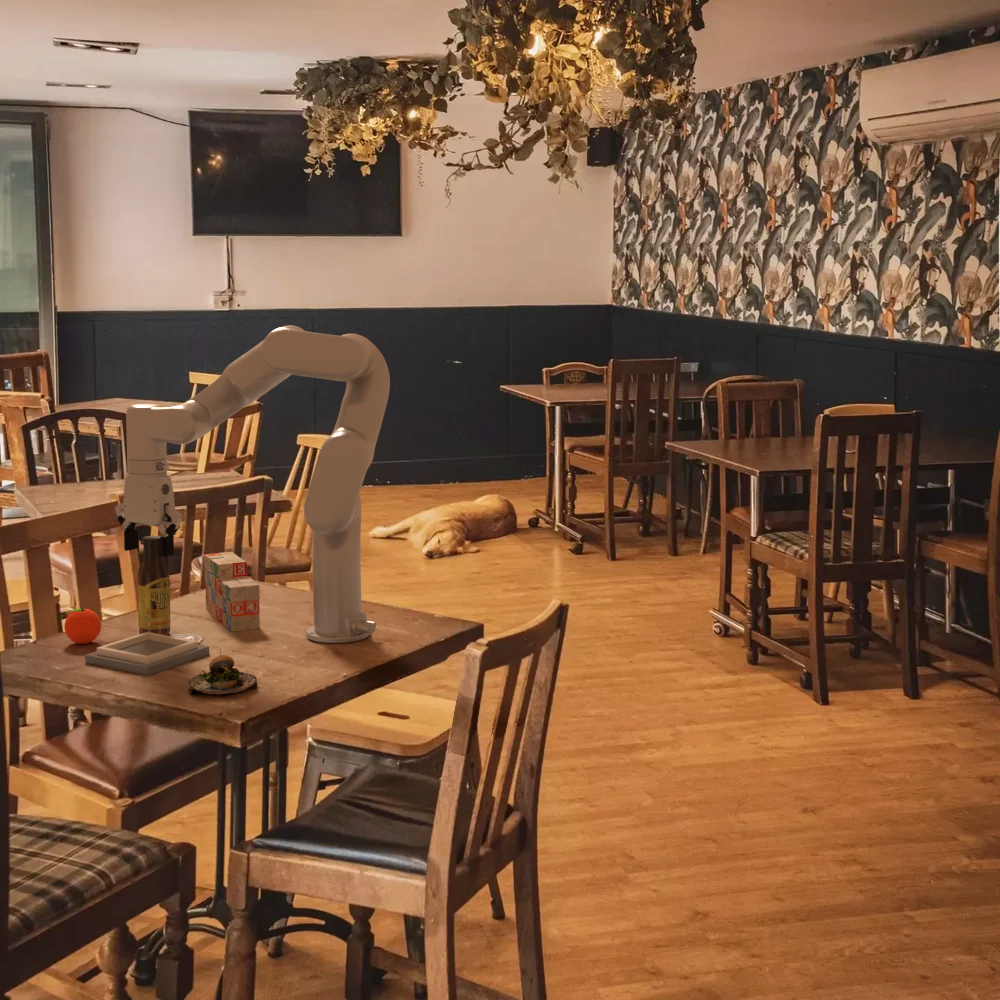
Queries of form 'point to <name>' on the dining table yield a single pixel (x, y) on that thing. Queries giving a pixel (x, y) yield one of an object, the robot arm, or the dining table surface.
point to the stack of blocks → (231, 591)
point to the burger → (222, 678)
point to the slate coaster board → (147, 653)
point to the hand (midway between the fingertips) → (149, 552)
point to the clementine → (82, 626)
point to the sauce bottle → (153, 590)
